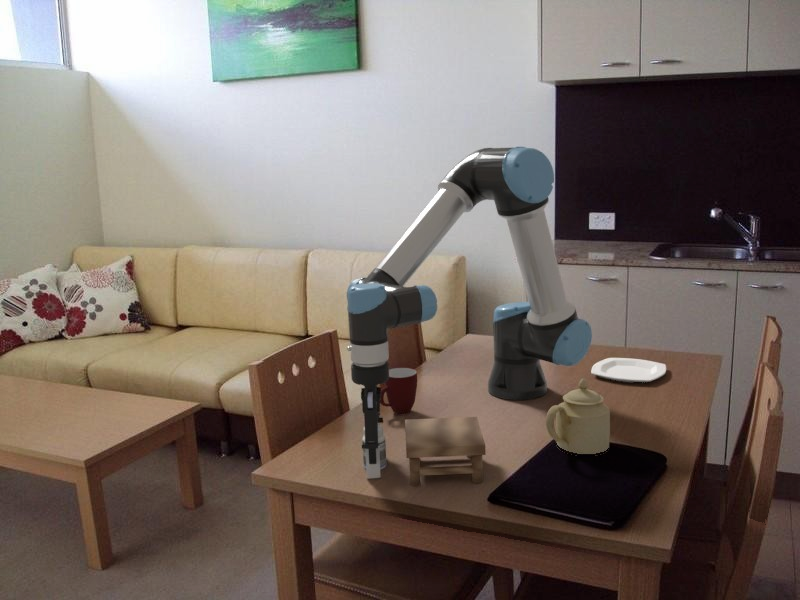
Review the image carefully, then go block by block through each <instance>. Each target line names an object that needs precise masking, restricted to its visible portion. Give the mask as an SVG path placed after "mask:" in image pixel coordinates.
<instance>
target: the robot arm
mask: <svg viewBox="0 0 800 600" xmlns="http://www.w3.org/2000/svg"><path fill="white" fill-rule="evenodd" d="M554 172H555V171H554V168H553V165H552V163H551V161H550V160H549V157H548V156H547V155H545V153H543V152H542V151H540V150H539V149H537V148H534V147H525V146H515V147H485V148H481V149H477V150H475V151H473V152H471V153H469V154H468V155H467V156H465V157H463V159H461V160H460V161H459V162H458V163H457V164H456V165H455V166H454V167H452V169H450V171H449V172H447V173H446V175H445V176H444V177H443V178H442V180H440V182H439V183H438V184H437V185H438V186H437V189H438V191H437V192H436V194H435V195H434V196H433V197H432V198H431V200H430V201H429V202H428V204H427V205H426V206H425V207H424V208H423V209H422V210H421V212H420V213H419V214H418V215H417V216H416V217H415V219H414V220H413V221H412V222H411V224H410V225H409V226H408V228H407V229H406V230H405V231H404V232H403V233H402V235H401V236H400V237H398V239H397V241H396V242H395V243H394V244H393V246H392V247H391V248H390V249H389V250H388V251H387V253H386V254H385V255H384V256H383V257H382V259H381V260H380V261H379V262H378V264H377V265H376V266H375V267H374V268H373V270H371V272H370V273H369V274H368V275H367V277H360V278H358V277H357V278H356V279H354V280H353V281H351V282H350V283H349V285H348V287H347V289H346V300H347V308H346V309H347V315H348V333H349V345H347V348H346V351H348V352H350V361H351V362H352V363H351V364H350V372H351V373H350V374H351V381H352V382H353V383H354V384H356V385H359V386H363V387H361V389H360V390H361V391H360V399H361V403H362V405H361V406H362V413H363V415H364V427H365V445H362V444H361V449H363V448H365V452H366V468H365V470H366V473H365V474H366V479H380V478H381V469H380V453H379V443H378V424H379V425H381V424H383V423H384V418H383V417H380V416H381V403H380V400H381V389H382V388H381V387H380V386H379V385H382V384H384V383H385V382H386V381H388V379H389V370H390V368H389V367H390V363H389V362H388V360H389V359H390V357H389V354H390V353H389V338H388V335H389V334H388V330H390V329H396V328H401V327H405V326H410V325H415V324H421V323H425V322H427V321H430V320H432V319H433V318H434V317H435V316H436V314H437V312H438V299H437V295H436V293H435V291H434V290H433V289H432V288H431V287H430V286H428V285H424V284H423V285H413V286H405V285H406V284H407V283H408V282H409V280H410V279H411V278H412V277H413V275H414V274H415V273H416V272H417V270H419V268H420V267H421V266H422V264H423V263H424V262H425V261H426V260H427V258H428V257H429V256H430V255H431V253H432V252H433V251H434V250H435V249H436V247H437V246H438V245H439V244H440V243H441V241H442V239H444V237H445V236H446V235H447V233H448V232H449V231H451V229H452V228H453V226H454V225H455V224H456V222H458V221H459V219H460V218H461V216H462V215H463V214H464V213H470V212H472V211H473V209H474V207H475V206H476V205H478V204H479V203H481V202H483V201H486V200H488V201H490V200H491V201H494V204H495V209H496V213H497V214H498V216H499V217H501V218H503V219H505V220H506V222H507V226H508V229H509V233H510V237H511V240H512V244H513V247H514V251H515V252H514V253H515V255H516V259H517V262H518V266H519V270H520V273H521V278H522V280H523V284H524V289H525V292H526V297H527V299H528V301H520V302H519V301H518V302H509V303H504V304H501V305H498V306H496V307H495V309H494V311H493V321H492V328H493V329H492V330H493V332H492V333H493V351H494V352H493V354H494V355H493V356H494V357H493V358H494V359H493V365H492V369H491V371H490V374H489V378H488V381H487V391H488V393H489V394H490V395H492V396H494V397H496V398H500V399H504V400H505V399H506V400H515V401H516V400H519V401H520V400H521V401H523V400H531V399H536V398H537V399H538V398H539V397H543V396H544V395H546V393H547V391H548V389H547V388H548V384H547V380H546V375H545V373H544V370H543V367H542V365H541V361H545V362H548V363H551V364H554V365H557V366H565V367H572V366H575V365H577V364H579V363H580V362H581V361H582V360H583V359H584V358H585V357H586V356H587V354H588V351H589V349H590V347H591V344H592V338H593V331H592V330H593V329H592V327H591V325H590V323H589V322H588V321H586V320H585V319H583V318H579V317H578V312H577V308H576V306H575V304H574V303H573V302H572V301H570V300H568V299H567V295H566V292H565V288H564V284H563V280H562V279H563V278H562V276H561V272H560V268H559V264H558V261H557V257H556V253H555V249H554V248H555V247H554V244H553V240H552V236H551V231H550V229H549V223H548V220H547V216H546V215H547V214H546V212H545V208H546V207H547V205H548V203H549V201H550V199H549V196H550V195H551V194H552V191H553V189H554V188H553V187H554V186H553V184H554V183H555V173H554Z"/></svg>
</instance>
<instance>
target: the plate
mask: <svg viewBox="0 0 800 600" xmlns="http://www.w3.org/2000/svg"><path fill="white" fill-rule="evenodd" d="M666 372H667V365H666V364H665V363H661V362H657V361H653V360H646V359H640V358H629V357H628V358H627V357H607V358H605V359H602V360H599V361H597V362H596V363H594V364H593V366H592V367H591V372H590V373H591V375H594V376H598V377H599V378H602V379H606V380H610V379H611V381H615V380H616V381H615V382H621V381H622V382H624V383H633V382H642V383H641V384H645V382H646V383H648V382H652V381H654V380H655V381H656V380H657V379H660V378H661V377H663V376H665V374H666ZM622 382H621V383H622ZM643 382H644V383H643Z"/></svg>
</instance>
